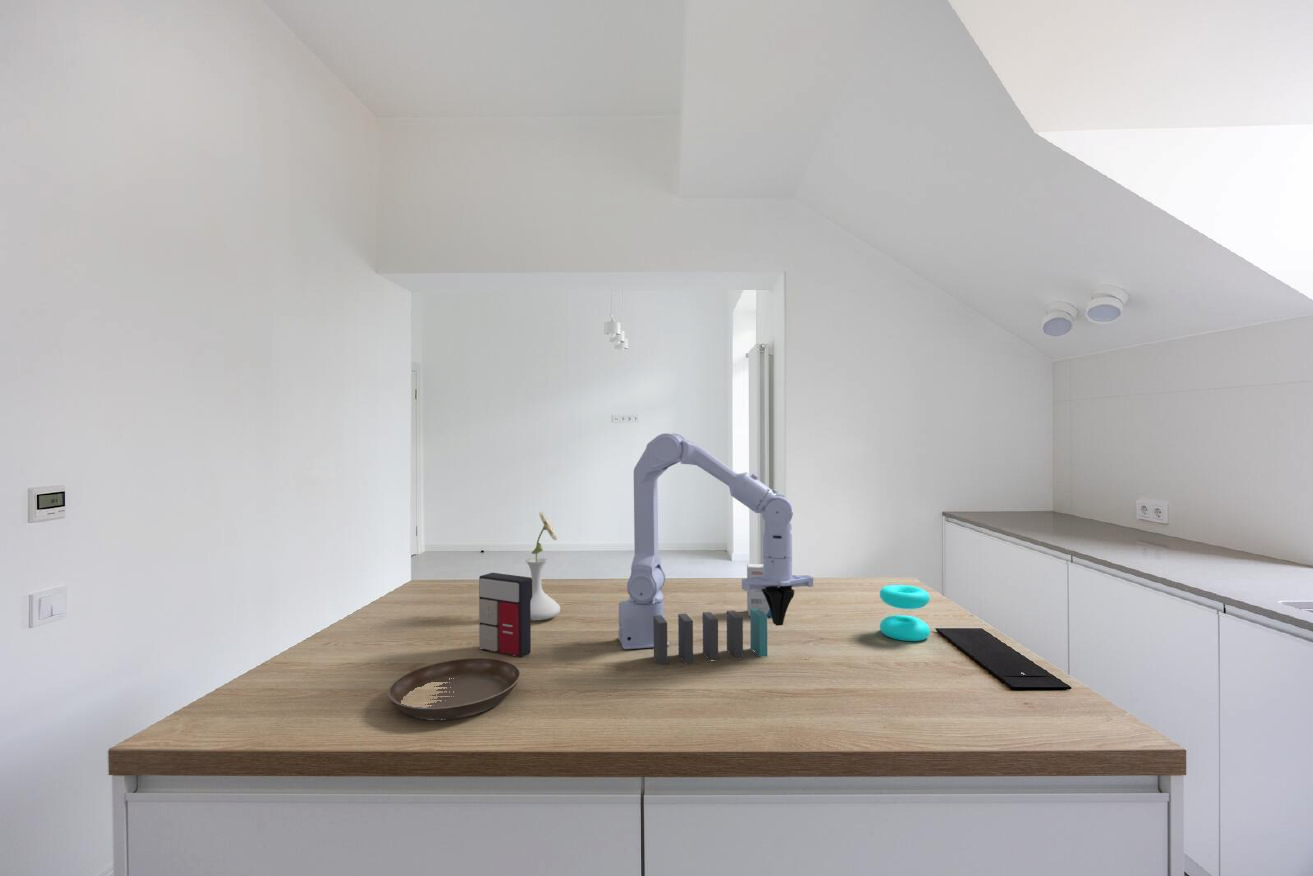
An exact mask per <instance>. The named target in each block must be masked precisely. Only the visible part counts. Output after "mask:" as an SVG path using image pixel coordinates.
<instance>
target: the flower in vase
mask: <svg viewBox="0 0 1313 876" xmlns="http://www.w3.org/2000/svg"><path fill="white" fill-rule="evenodd" d="M538 513H539V516H540V519H541V522H542V523H543V524H542V525H543V527H542V529H541V531H540V533H539V535H538V537H537V541H536V546H535V548H534V549H533V551H531V554H533V555H535V557H534V558H533V557H532V558H527V559H525V562H526V564H527V566H529V570H530V575H531V578H532V599H531V602H530V609H531V621H543V620H548V619H551V618H553V617H556V616H557V615H559V613H560V612H561V606H560V604H559V603H558V602H556V601H555V600H554V599H553V598H552V597H550V596H549V595H547V593H545V591H544V590H543V587H542V577H543V576H542V574H543V573H542V572H543V568H544V566H545V564H546V562H547V561H548V559H547V558H544V557H543V558H542V557H538V554H539V553H543V551H544V548H543V546H542V543H540V542H539V541H540V539H541V536H542V534H543V532H544V530H545V531H547V533H548V535H549V536H550V537H551V539H552V540H553V541H557V540H558V537H557V535H556V533H555V532H554V531H553V527H552V526H551V525H550V524H549V520H548V519H547V517H545V515H544V512H543V511H542V512H541V511H539V512H538Z"/></svg>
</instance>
